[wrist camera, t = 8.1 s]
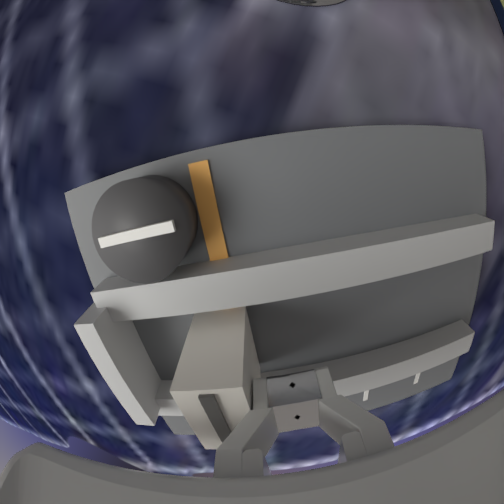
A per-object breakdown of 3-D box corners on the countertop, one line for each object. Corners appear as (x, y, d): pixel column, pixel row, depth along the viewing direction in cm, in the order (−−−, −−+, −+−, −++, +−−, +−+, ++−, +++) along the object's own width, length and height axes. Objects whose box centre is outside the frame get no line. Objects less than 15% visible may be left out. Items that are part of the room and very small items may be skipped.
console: (85, 187, 13) (24, 204, 8) (460, 130, 11) (519, 131, 6) (179, 415, 18) (167, 465, 14) (440, 364, 17) (467, 402, 12)
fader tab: (194, 312, 12) (168, 394, 7) (245, 305, 12) (242, 390, 7) (216, 372, 14) (205, 451, 9) (260, 367, 13) (262, 449, 9)
